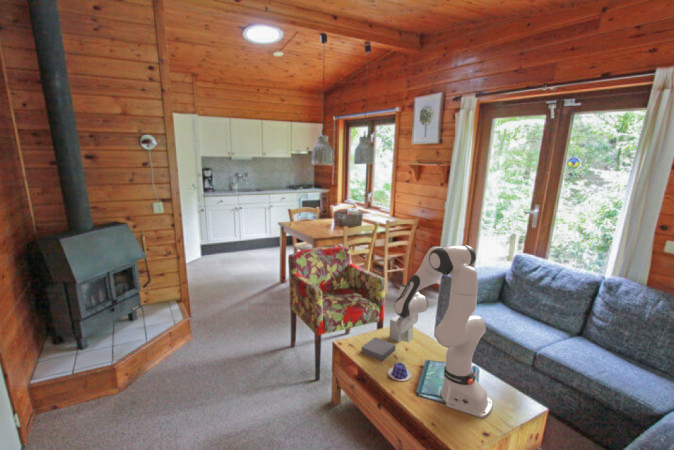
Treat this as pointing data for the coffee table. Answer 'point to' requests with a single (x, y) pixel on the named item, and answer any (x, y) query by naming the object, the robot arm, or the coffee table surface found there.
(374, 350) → the base block
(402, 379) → the pudding
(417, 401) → the coffee table surface
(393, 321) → the supplement box
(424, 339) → the coffee table surface
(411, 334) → the sage block
